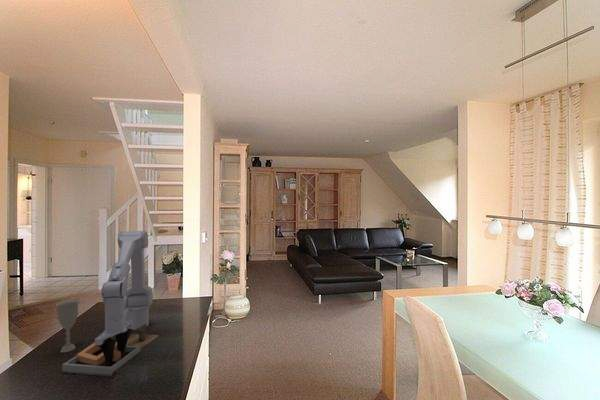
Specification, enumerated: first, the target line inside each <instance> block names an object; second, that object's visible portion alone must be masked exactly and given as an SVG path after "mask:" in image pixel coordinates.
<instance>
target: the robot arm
mask: <svg viewBox="0 0 600 400" xmlns="http://www.w3.org/2000/svg"><path fill="white" fill-rule="evenodd" d="M117 245H118V247H119V255H118V259H117V262H114V264H113V265H112V267H111V270H110V272H109V273H110V274H109V276H108V278H107V281H106V282H103V284H102V286H101V290H100V291H101V292H100V294H101V299H102V304H103V305H104V331H102V333H100V335H99V336H97V337H95V338H94V342H95V345H98V346H99V347H100V348H101V350H100V351H102V352H103V354H104V357H105V360H106V361H107V362H113V361H112V360H113V355H114V347H115V343H116V341H117V350H118V351H120V352H121V353H124V352H126V351H125V348H126V344H127V341H128V338H129V336H130V335H131V334H132V332H133V330H134V331H137V328H139V327H140V326H142V325H143V324H147V327H149V324H150V319H149V318H150V316H149V315H150V312H149V310H150V309H149V308H150V306H151V305H153V301H154V300H153V299H154V295H153V291H152V290H153V289H152V287H151V286H149V285H147V284H145V266H144V265H145V262H144V261H145V260H144V259H145V258H144V251H145V249H147V248H148V246H149V234H148V232H147V231H146V230H134V231H126V230H125V231H123V230H121V231H120V232H119V233H118V235H117ZM129 263H130V264H129ZM130 271H131V286H130V287H129V288H128V284H129V281H128V278H129V276H130ZM114 337H115V339H113V338H114ZM102 352H101V353H102ZM106 361H105V362H106Z"/></svg>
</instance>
